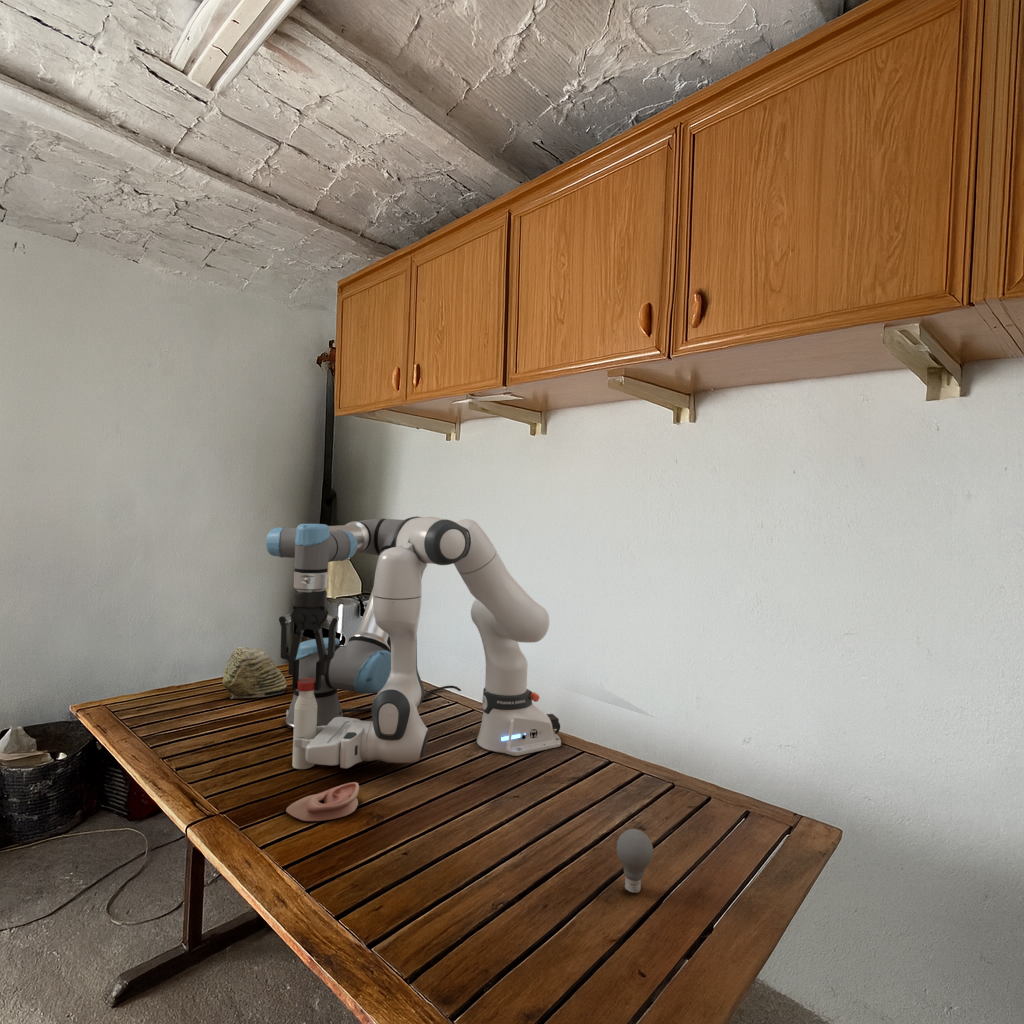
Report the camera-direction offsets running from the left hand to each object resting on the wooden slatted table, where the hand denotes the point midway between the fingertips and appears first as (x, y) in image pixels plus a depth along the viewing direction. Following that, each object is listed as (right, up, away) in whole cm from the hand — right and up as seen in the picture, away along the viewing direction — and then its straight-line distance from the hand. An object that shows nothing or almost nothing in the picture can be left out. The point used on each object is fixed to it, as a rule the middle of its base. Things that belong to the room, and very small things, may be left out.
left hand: (306, 688), depth 149 cm
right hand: (-1, -11, 0) cm, 12 cm away
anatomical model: (+10, -19, -20) cm, 29 cm away
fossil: (-32, -16, +49) cm, 61 cm away
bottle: (-1, -18, 0) cm, 18 cm away
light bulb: (+68, -22, -43) cm, 84 cm away
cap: (0, +2, 0) cm, 2 cm away
